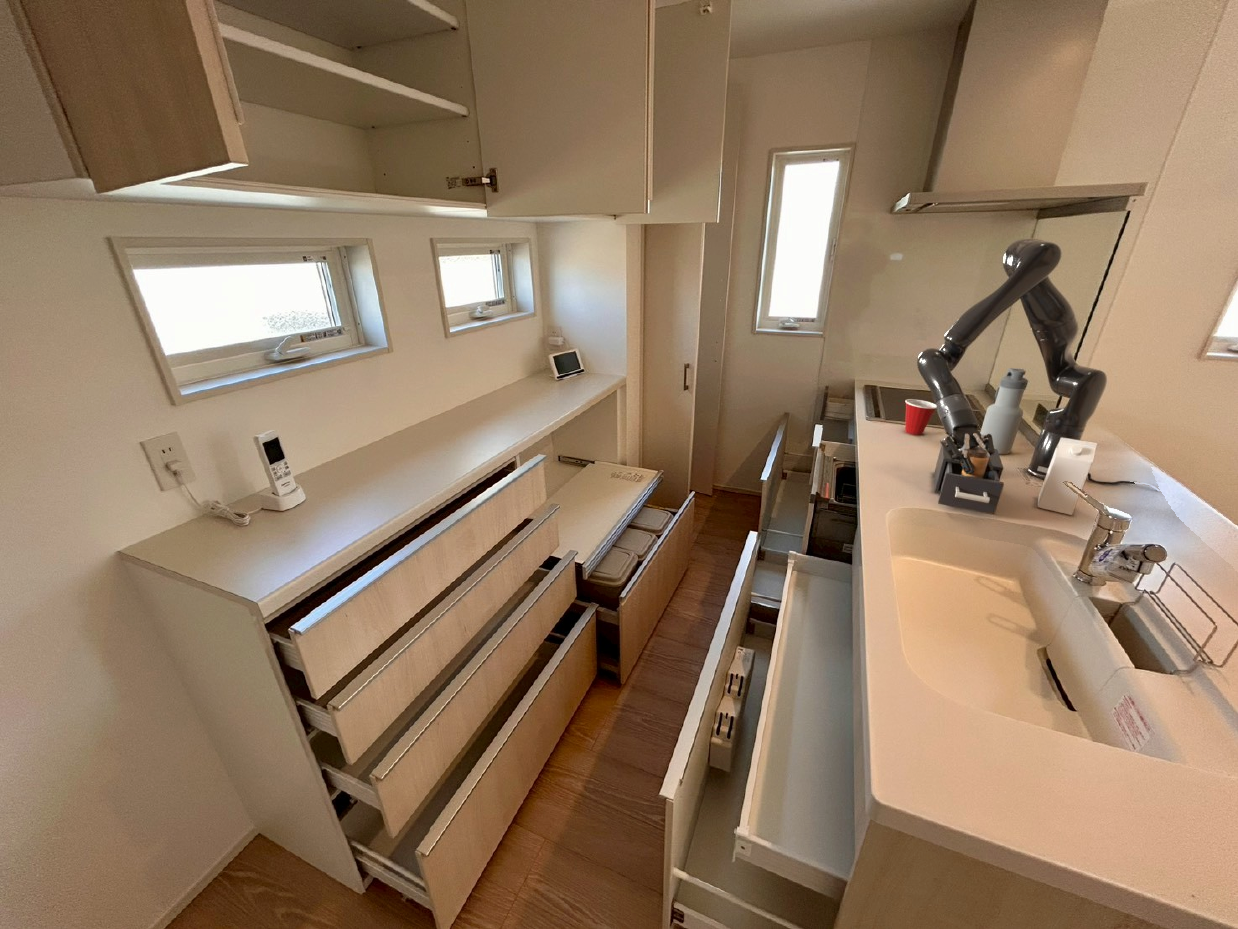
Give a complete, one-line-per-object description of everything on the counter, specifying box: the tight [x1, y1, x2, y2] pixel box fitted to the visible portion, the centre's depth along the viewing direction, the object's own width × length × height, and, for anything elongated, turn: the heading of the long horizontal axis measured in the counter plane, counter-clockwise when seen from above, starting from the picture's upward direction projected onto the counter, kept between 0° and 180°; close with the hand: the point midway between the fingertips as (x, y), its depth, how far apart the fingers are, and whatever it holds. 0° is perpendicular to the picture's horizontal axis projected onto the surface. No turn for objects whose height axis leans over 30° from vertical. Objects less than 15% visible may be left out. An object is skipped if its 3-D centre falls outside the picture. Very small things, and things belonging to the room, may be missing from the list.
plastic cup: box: [904, 398, 937, 436], centre depth 187 cm, size 11×11×12 cm
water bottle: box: [978, 367, 1029, 455], centre depth 167 cm, size 10×10×28 cm
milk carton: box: [1037, 437, 1098, 516], centre depth 130 cm, size 7×7×19 cm
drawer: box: [937, 462, 1005, 515], centre depth 132 cm, size 20×12×9 cm, turn 150°
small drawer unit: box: [933, 444, 1004, 495], centre depth 143 cm, size 16×14×11 cm
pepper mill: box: [961, 448, 989, 479], centre depth 130 cm, size 5×5×10 cm
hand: (979, 472), depth 129 cm, fingers closed on pepper mill, 4 cm apart
